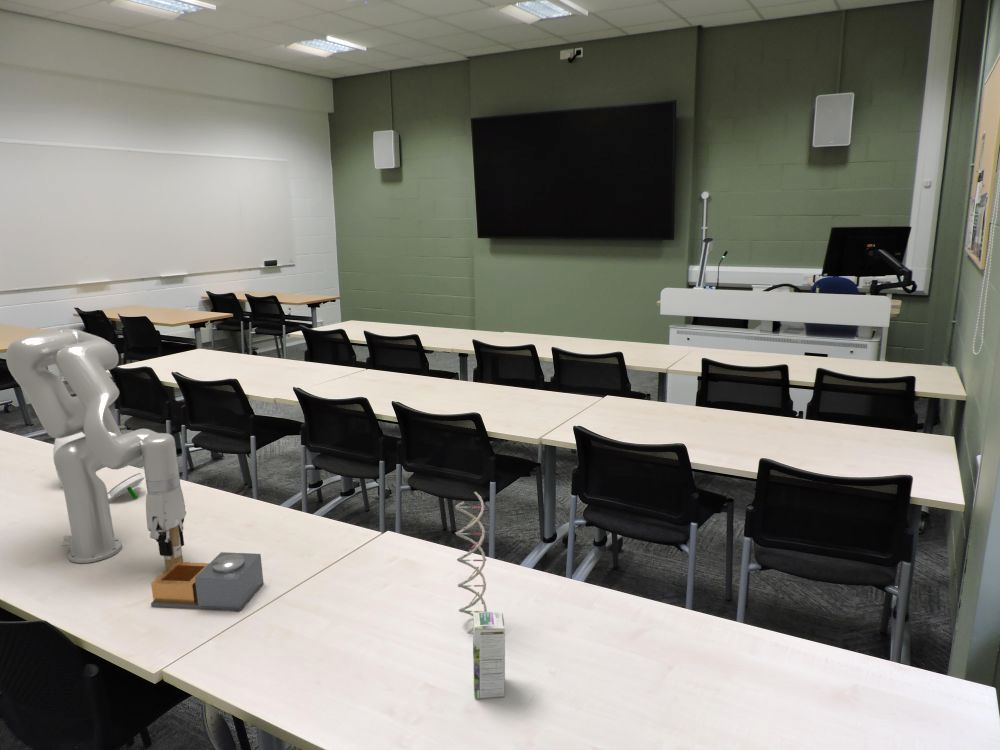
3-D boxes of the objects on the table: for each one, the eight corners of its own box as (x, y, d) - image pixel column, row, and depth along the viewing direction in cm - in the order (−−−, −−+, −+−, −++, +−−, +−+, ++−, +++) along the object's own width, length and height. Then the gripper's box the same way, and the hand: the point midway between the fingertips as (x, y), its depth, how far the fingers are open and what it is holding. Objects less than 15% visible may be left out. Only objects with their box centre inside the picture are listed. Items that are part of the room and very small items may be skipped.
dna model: (481, 636, 147) (477, 504, 140) (453, 631, 149) (448, 500, 142) (492, 619, 153) (489, 492, 146) (465, 614, 155) (461, 488, 148)
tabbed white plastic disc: (132, 485, 231) (142, 459, 227) (150, 498, 230) (161, 473, 226) (94, 503, 217) (104, 476, 214) (113, 517, 216) (124, 491, 213)
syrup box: (473, 679, 134) (471, 611, 130) (503, 677, 134) (502, 610, 131) (474, 699, 128) (472, 629, 125) (506, 697, 129) (505, 627, 125)
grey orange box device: (151, 607, 160) (146, 571, 158) (186, 574, 175) (182, 541, 173) (240, 611, 158) (236, 575, 156) (268, 577, 173) (265, 544, 170)
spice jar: (185, 568, 178) (179, 519, 175) (166, 573, 175) (159, 524, 172) (182, 561, 181) (176, 513, 178) (163, 566, 179) (156, 517, 176)
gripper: (168, 470, 182) (176, 535, 186) (128, 496, 165) (138, 566, 170) (195, 471, 181) (203, 536, 185) (157, 497, 164) (167, 567, 169)
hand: (172, 549), depth 177 cm, fingers closed on spice jar, 4 cm apart
